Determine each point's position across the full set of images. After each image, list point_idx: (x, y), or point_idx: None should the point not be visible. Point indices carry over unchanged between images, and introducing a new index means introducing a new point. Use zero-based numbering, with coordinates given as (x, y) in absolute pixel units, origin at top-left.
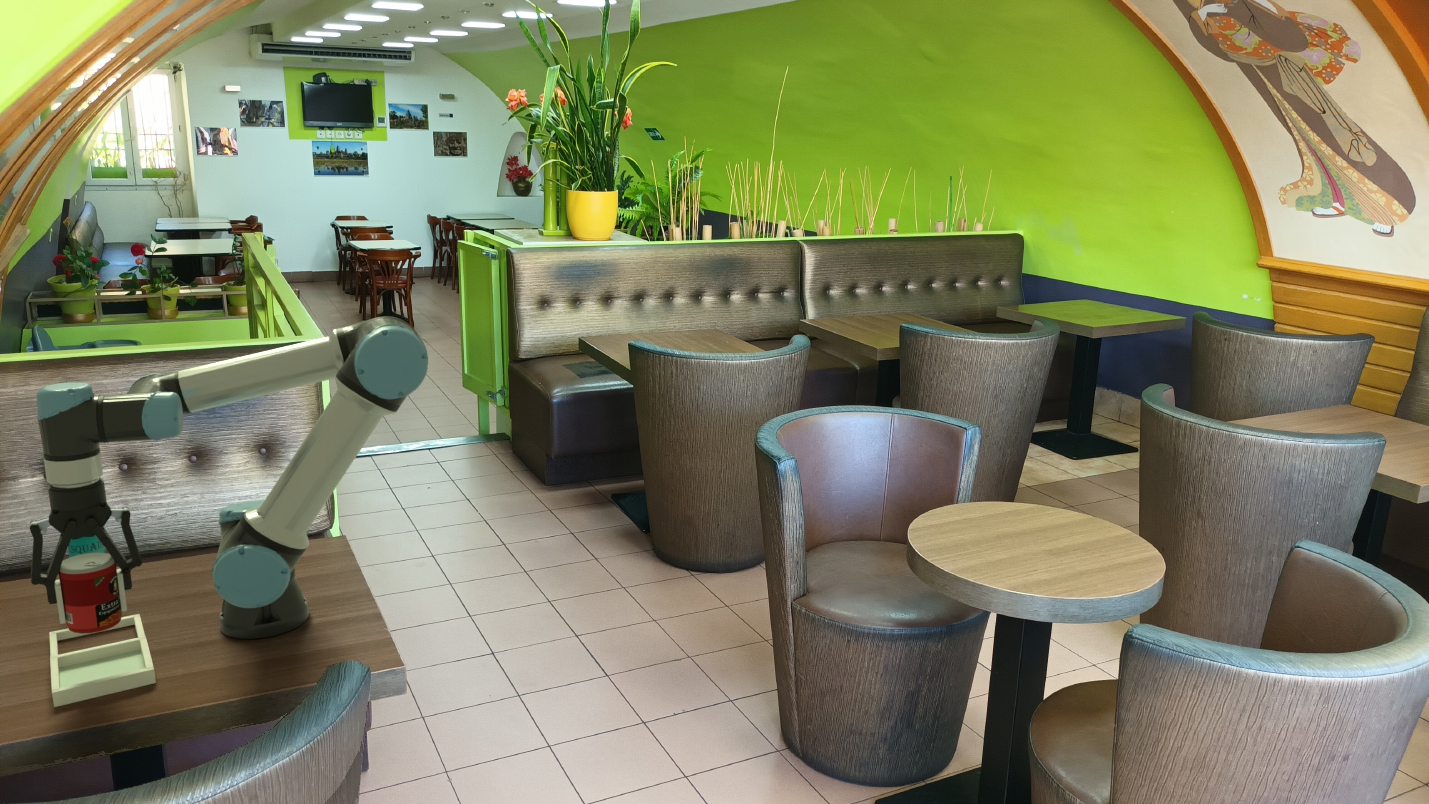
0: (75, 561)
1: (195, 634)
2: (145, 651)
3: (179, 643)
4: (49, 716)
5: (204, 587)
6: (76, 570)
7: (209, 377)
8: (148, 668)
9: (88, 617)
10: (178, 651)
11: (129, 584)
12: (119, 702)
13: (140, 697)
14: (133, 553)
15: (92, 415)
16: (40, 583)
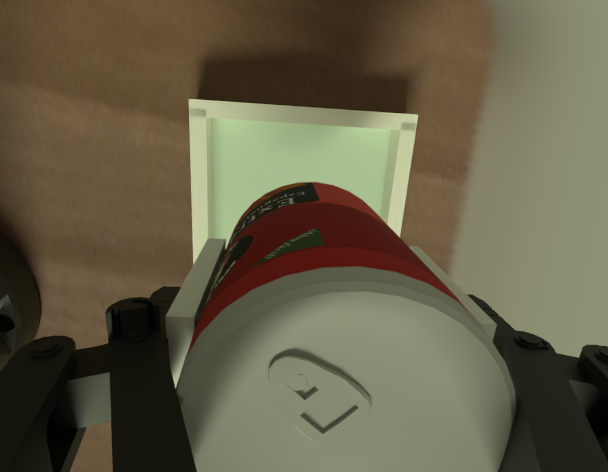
0: None
1: (98, 310)
2: (201, 221)
3: (134, 283)
4: (420, 72)
5: None
6: (442, 301)
7: None
8: (201, 112)
9: (342, 195)
10: (138, 243)
11: (160, 298)
12: (282, 43)
13: (236, 39)
14: (15, 407)
15: None
16: (564, 358)
